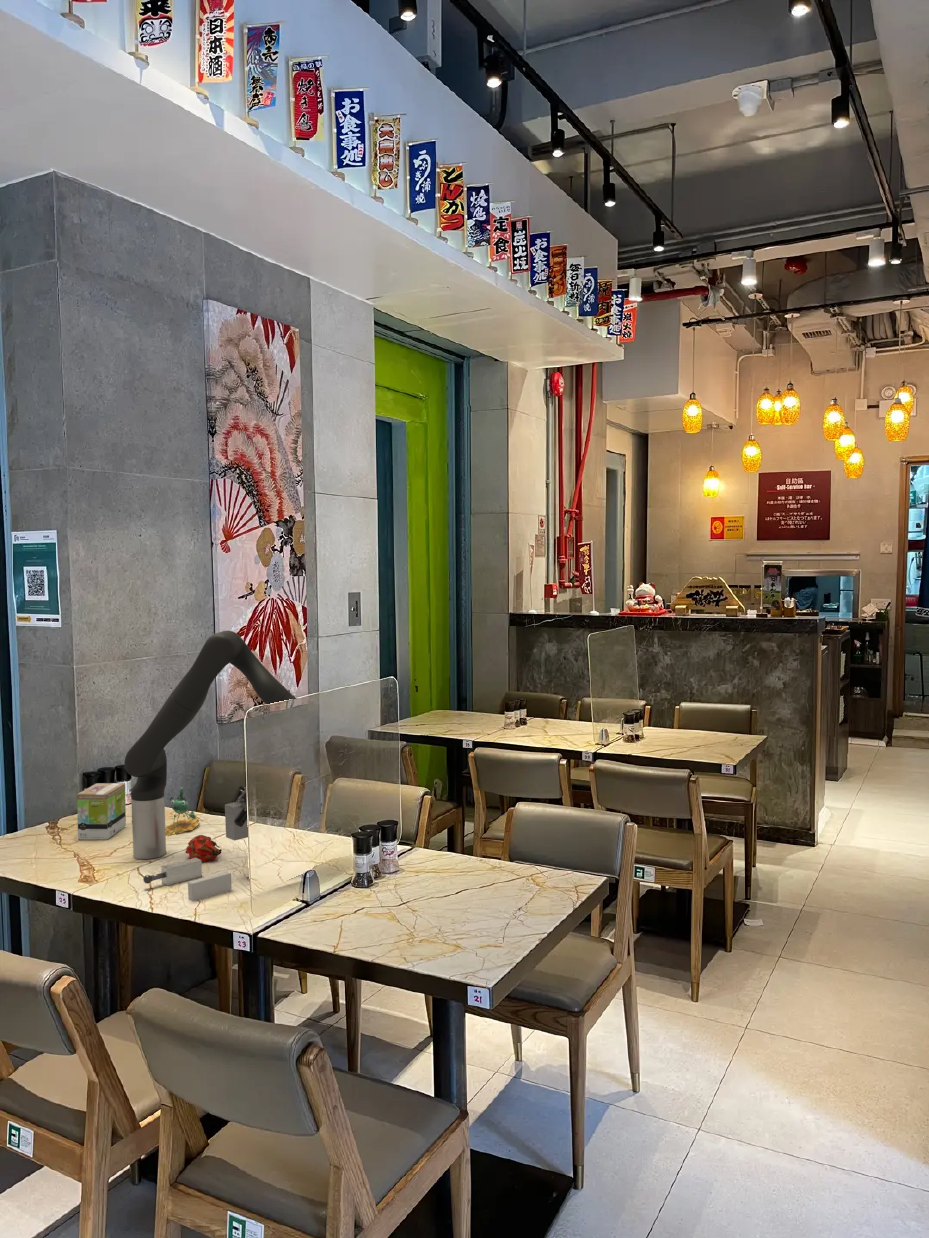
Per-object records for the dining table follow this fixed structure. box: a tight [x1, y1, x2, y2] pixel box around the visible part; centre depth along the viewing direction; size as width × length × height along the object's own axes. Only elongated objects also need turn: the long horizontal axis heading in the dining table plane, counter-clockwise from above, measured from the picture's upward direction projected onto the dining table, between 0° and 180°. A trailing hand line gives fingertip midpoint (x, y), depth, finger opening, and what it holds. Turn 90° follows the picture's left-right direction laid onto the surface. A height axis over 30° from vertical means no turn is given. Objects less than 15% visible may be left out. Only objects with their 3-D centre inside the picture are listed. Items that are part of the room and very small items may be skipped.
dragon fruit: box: [184, 834, 223, 863], centre depth 270 cm, size 8×8×12 cm
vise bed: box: [187, 871, 232, 902], centre depth 248 cm, size 22×11×6 cm, turn 43°
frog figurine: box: [165, 786, 200, 837], centre depth 303 cm, size 10×18×15 cm, turn 153°
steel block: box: [224, 799, 249, 842], centre depth 254 cm, size 4×6×9 cm
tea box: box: [76, 782, 127, 841], centre depth 300 cm, size 15×10×15 cm
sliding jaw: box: [143, 858, 203, 886], centre depth 250 cm, size 3×16×4 cm, turn 133°
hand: (233, 822), depth 253 cm, fingers closed on steel block, 4 cm apart
